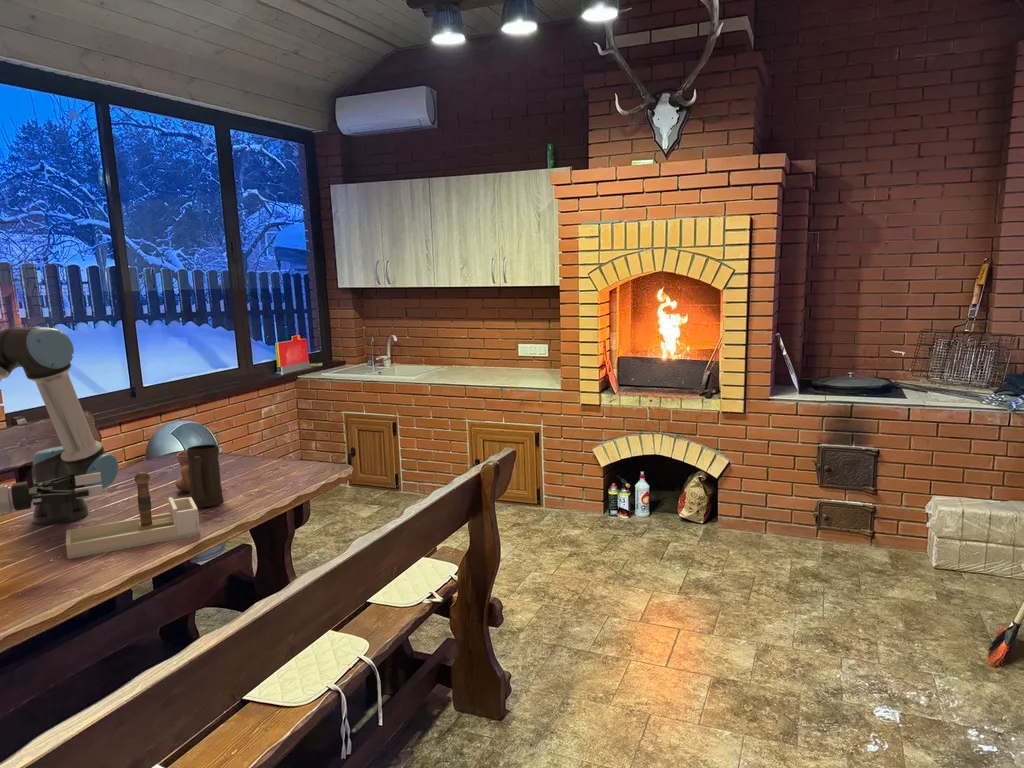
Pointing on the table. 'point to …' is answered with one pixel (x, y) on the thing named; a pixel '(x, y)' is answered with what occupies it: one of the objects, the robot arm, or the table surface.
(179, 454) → the ceramic jug
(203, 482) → the beer stein
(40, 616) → the table surface
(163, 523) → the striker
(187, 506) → the cream long tray
